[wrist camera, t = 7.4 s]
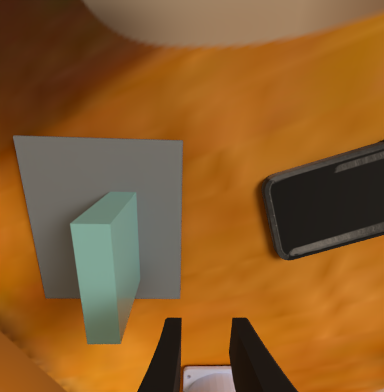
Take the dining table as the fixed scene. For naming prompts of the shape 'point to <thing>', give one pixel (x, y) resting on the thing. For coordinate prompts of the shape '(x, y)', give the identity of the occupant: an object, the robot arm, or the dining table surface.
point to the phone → (326, 202)
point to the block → (107, 265)
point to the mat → (94, 191)
